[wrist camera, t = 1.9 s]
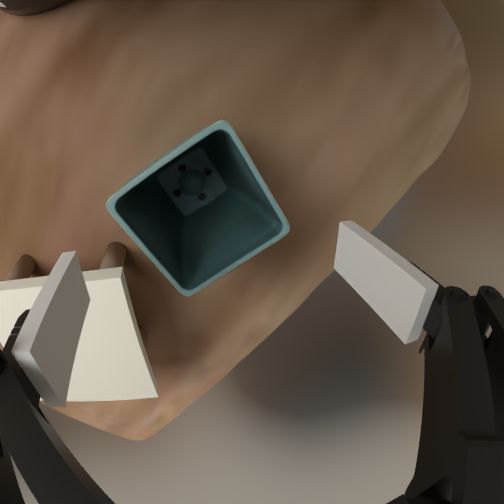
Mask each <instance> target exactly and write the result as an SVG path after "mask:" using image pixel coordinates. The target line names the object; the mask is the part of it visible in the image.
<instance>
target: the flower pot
mask: <svg viewBox="0 0 504 504" xmlns="http://www.w3.org/2000/svg"><path fill="white" fill-rule="evenodd" d="M182 164H183V165H184V166H185V169H184V170H180V169H179V166H180V165H182ZM206 169H210V171H211V172H210V174H205V170H206ZM177 189H178V190H179V191H180V193H179V194H178V195H176V194H174V191H175V190H177ZM201 193H204V194H205V197H204V198H200V197H199V195H200V194H201ZM106 208H107V210H108V211H109V213H110V214H111V215H112V216H113V218H114V219H115V220H116V221H117V222H118V223H119V224H120V226H121V227H122V228H123V229H124V230H125V231H126V233H127V234H128V235H129V236H130V237H131V238H132V239H133V241H134V242H135V243H136V244H137V245H138V246H139V247H140V248H141V250H142V251H143V252H144V253H145V254H146V255H147V256H148V257H149V259H150V260H151V261H152V262H153V263H154V264H155V265H156V266H157V268H158V269H159V270H160V271H161V272H162V273H163V274H164V276H165V277H166V278H167V279H168V280H169V281H170V282H171V283H172V284H173V286H174V287H175V288H176V289H177V290H178V291H179V292H180V293H181V294H182V295H184V296H186V297H191V296H193V295H195V294H196V293H198V292H199V291H201V290H202V289H204V288H206V287H207V286H208V285H210V284H212V283H213V282H215V281H216V280H218V279H219V278H221V277H222V276H224V275H226V274H227V273H229V272H230V271H232V270H233V269H235V268H236V267H238V266H239V265H241V264H242V263H244V262H246V261H247V260H249V259H250V258H252V257H253V256H255V255H257V254H258V253H260V252H261V251H263V250H264V249H266V248H267V247H269V246H271V245H273V244H274V243H276V242H277V241H279V240H280V239H282V238H283V237H284V236H286V235H287V234H288V233H289V231H290V225H289V222H288V220H287V219H286V217H285V215H284V213H283V212H282V210H281V209H280V207H279V205H278V204H277V202H276V200H275V198H274V197H273V195H272V193H271V192H270V190H269V188H268V186H267V185H266V183H265V182H264V180H263V178H262V176H261V175H260V173H259V171H258V169H257V167H256V166H255V164H254V162H253V161H252V159H251V157H250V156H249V154H248V152H247V151H246V149H245V147H244V145H243V144H242V142H241V140H240V139H239V137H238V135H237V134H236V132H235V130H234V128H233V127H232V125H231V124H230V123H229V122H228V121H226V120H220V121H217V122H215V123H213V124H210V125H208V126H206V127H205V128H203V129H202V130H200V131H199V132H197V133H196V134H194V135H193V136H191V137H190V138H188V139H187V140H185V141H184V142H182V143H181V144H179V145H178V146H177V147H175V148H174V149H172V150H171V151H169V152H168V153H166V154H165V155H164V156H162V157H161V158H159V159H158V160H156V161H155V162H154V163H152V164H151V165H149V166H148V167H147V168H145V169H144V170H142V171H141V172H140V173H138V174H137V175H136V176H134V177H133V178H131V179H130V180H129V181H127V182H126V183H125V184H124V185H123V186H122V187H121V188H120V189H119V190H117V191H116V192H115V193H114V194H113V195H112V196H111V197H110V198H109V199H108V201H107V202H106Z"/></svg>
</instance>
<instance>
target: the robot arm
mask: <svg viewBox="0 0 504 504" xmlns="http://www.w3.org/2000/svg"><path fill="white" fill-rule="evenodd" d="M68 1H70V0H0V9H1V10H3V11H5V12H7V13H9V14H13V15H32V14H37V13H41V12H44V11H47V10H50V9H53V8H55V7H58V6H60V5H62V4H64V3H66V2H68ZM334 269H335V270H336V271H337V272H338V273H339V274H340V275H341V276H342V277H343V278H344V279H345V280H346V281H347V282H348V283H349V284H350V285H351V286H352V287H353V288H354V289H355V290H356V292H357V293H358V294H359V295H360V296H361V297H362V298H363V299H364V300H365V301H366V302H367V303H368V304H369V305H370V306H371V307H372V309H373V310H374V311H375V312H376V313H377V314H378V315H379V316H380V317H381V318H382V319H383V320H384V322H385V323H386V324H387V325H388V326H389V327H390V328H391V329H392V330H393V331H394V333H395V334H397V336H398V337H399V338H400V339H401V340H402V341H403V343H405V344H408V343H410V342H413V341H415V340H417V339H418V338H419V335H420V333H421V331H422V328H423V329H424V330H425V331H426V332H427V334H426V336H425V339H424V341H423V343H422V345H421V348H420V350H419V353H421V352H422V350H423V349H424V348H425V353H424V354H425V373H424V374H425V376H424V377H425V378H424V399H423V412H422V424H421V434H420V441H419V449H418V456H417V462H416V468H415V473H414V476H413V479H412V480H411V482H410V484H409V486H408V487H407V490H406V492H405V495H401V496H399V497H397V498H396V499H394V500H392V501H390V502H388V503H387V504H504V298H503V296H502V295H501V294H500V293H499V292H498V291H497V290H496V289H495V288H493V287H491V286H481V287H480V288H479V290H478V293H477V295H476V296H469V294H468V293H467V292H466V291H464V290H462V289H461V288H458V287H454V286H449V287H446V288H444V287H443V286H442V285H440V284H439V283H438V282H437V281H436V280H434V279H433V278H432V277H430V276H429V275H428V274H426V273H425V272H424V271H423V270H420V268H419V267H417V266H416V265H415V264H413V263H412V262H410V261H408V260H406V259H404V258H403V257H402V256H400V255H399V254H398V253H396V252H395V251H394V250H392V249H391V248H390V247H388V246H387V245H386V244H384V243H383V242H381V241H380V240H379V239H377V238H376V237H374V236H373V235H371V234H370V233H369V232H367V231H366V230H365V229H363V228H362V227H360V226H359V225H357V224H356V223H354V222H353V221H342V222H340V224H339V232H338V240H337V247H336V255H335V262H334ZM89 303H90V297H89V293H88V290H87V287H86V284H85V281H84V277H83V274H82V270H81V267H80V263H79V259H78V256H77V252H76V251H71V252H64V253H62V254H61V256H60V257H59V259H58V261H57V262H56V264H55V266H54V267H53V269H52V271H51V273H50V274H49V276H48V278H47V280H46V281H45V283H44V285H43V287H42V289H41V290H40V292H39V294H38V296H37V298H36V300H35V302H34V304H33V306H32V308H31V309H28V310H25V311H24V312H23V313H22V314H21V315H20V316H19V317H18V319H17V321H16V323H15V325H14V328H13V329H12V331H11V333H10V334H11V335H9V337H8V339H7V342H6V344H5V346H4V348H3V350H2V351H1V349H0V504H25V502H24V500H23V497H22V494H21V491H20V488H19V485H18V482H17V479H16V476H15V472H14V469H13V465H12V461H11V457H10V454H11V456H12V458H13V460H14V462H15V464H16V466H17V468H18V470H19V471H20V473H21V475H22V477H23V478H24V480H25V482H26V484H27V485H28V487H29V489H30V490H31V492H32V493H33V495H34V497H35V498H36V500H37V501H38V503H39V504H115V503H114V502H113V501H112V500H111V499H110V498H109V497H108V496H107V495H106V494H105V493H104V491H103V490H102V489H101V488H100V487H99V486H98V485H97V484H96V483H95V481H94V480H93V479H92V478H91V477H90V476H89V474H88V473H87V472H86V471H85V470H84V468H83V467H82V466H81V465H80V463H79V462H78V461H77V460H76V458H75V457H74V456H73V454H72V453H71V452H70V451H69V449H68V448H67V446H66V445H65V444H64V442H63V441H62V439H61V438H60V436H59V435H58V434H57V432H56V431H55V429H54V428H53V426H52V425H51V423H50V422H49V420H48V419H47V417H46V415H45V414H44V412H43V411H42V409H41V408H40V407H39V401H40V397H41V398H42V399H43V401H44V402H45V403H46V405H47V406H48V407H65V406H66V400H67V394H68V389H69V384H70V379H71V374H72V369H73V364H74V360H75V356H76V351H77V347H78V343H79V339H80V335H81V331H82V328H83V324H84V320H85V317H86V313H87V310H88V307H89ZM489 326H491V328H492V332H491V334H490V336H489V337H488V338H487V337H486V335H485V334H486V332H487V330H488V328H489ZM9 452H10V453H9ZM450 500H451V501H450Z"/></svg>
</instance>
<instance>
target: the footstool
mask: <svg viewBox="0 0 504 504" xmlns="http://www.w3.org/2000/svg"><path fill="white" fill-rule="evenodd" d="M125 257H126V248H125V246H124V245H123V244H121V243H119V242H112V243H110V244H109V245H108V247H107V249H106V252H105V255H104V257H103V260H102V263H101V266H100V269H99V270H92V271H83V272H82V274H83V277H84V281H85V284H86V287H87V290H88V293H89V297H90V303H89V307H88V310H87V313H86V317H85V320H84V324H83V328H82V331H81V335H80V339H79V343H78V347H77V351H76V356H75V360H74V364H73V369H72V374H71V379H70V384H69V389H68V394H67V400H66V401H111V400H130V399H143V398H155V397H158V385H157V383H156V380H155V377H154V374H153V371H152V368H151V366H150V363H149V360H148V357H147V354H146V331H145V330H144V329H143V328H141V327H138V324H137V321H136V317H135V314H134V310H133V306H132V303H131V299H130V295H129V291H128V287H127V283H126V279H125V275H124V270H123V265H124V261H125ZM34 269H35V261H34V259H33V258H32V257H31V256H29V255H23V256H21V258H20V259H19V260H18V262H17V263H16V264H15V266H14V267H13V268H12V270H11V271H10V273H9V274H8V275H7V277H6V278H5V280H4V281H1V282H0V342H1V344H2V346H3V347H4V346H5V344H6V342H7V339H8V337H9V335H11V334H10V333H11V331H12V329H13V328H14V325H15V323H16V321H17V319H18V317H19V316H20V315H21V314H22V313H23V312H24V311H25V310H28V309H31V308H32V306H33V304H34V302H35V300H36V298H37V296H38V294H39V292H40V290H41V289H42V287H43V285H44V283H45V281H46V280H47V278H48V276H42V277H34V278H29V277H30V275H31V274H32V272H33V271H34ZM40 400H43V399H42V398H41V397H40Z"/></svg>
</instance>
